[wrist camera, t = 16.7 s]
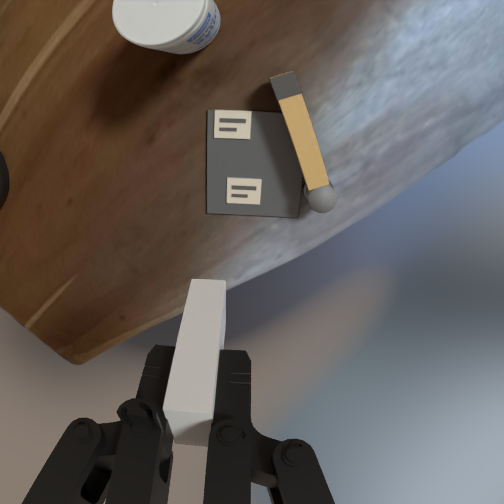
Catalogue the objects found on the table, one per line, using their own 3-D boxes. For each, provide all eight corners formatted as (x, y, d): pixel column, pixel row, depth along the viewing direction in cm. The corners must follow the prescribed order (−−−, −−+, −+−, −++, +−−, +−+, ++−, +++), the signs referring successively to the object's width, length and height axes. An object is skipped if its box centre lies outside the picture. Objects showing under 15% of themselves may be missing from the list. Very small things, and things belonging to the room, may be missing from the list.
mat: (207, 212, 50) (207, 213, 50) (208, 109, 42) (207, 109, 41) (297, 216, 51) (297, 217, 50) (308, 115, 42) (309, 115, 42)
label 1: (214, 136, 44) (214, 138, 43) (215, 109, 42) (214, 110, 41) (250, 138, 44) (250, 139, 43) (251, 110, 42) (251, 111, 41)
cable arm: (265, 79, 38) (266, 79, 35) (294, 70, 37) (297, 70, 35) (309, 207, 48) (313, 216, 45) (334, 199, 47) (339, 208, 45)
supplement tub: (220, 52, 37) (204, 45, 25) (152, 57, 37) (109, 56, 25) (221, -11, 32) (207, -43, 20) (153, -5, 32) (112, -29, 20)
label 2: (227, 201, 49) (226, 203, 48) (227, 176, 47) (227, 178, 46) (259, 202, 49) (260, 204, 49) (261, 178, 47) (261, 179, 46)
